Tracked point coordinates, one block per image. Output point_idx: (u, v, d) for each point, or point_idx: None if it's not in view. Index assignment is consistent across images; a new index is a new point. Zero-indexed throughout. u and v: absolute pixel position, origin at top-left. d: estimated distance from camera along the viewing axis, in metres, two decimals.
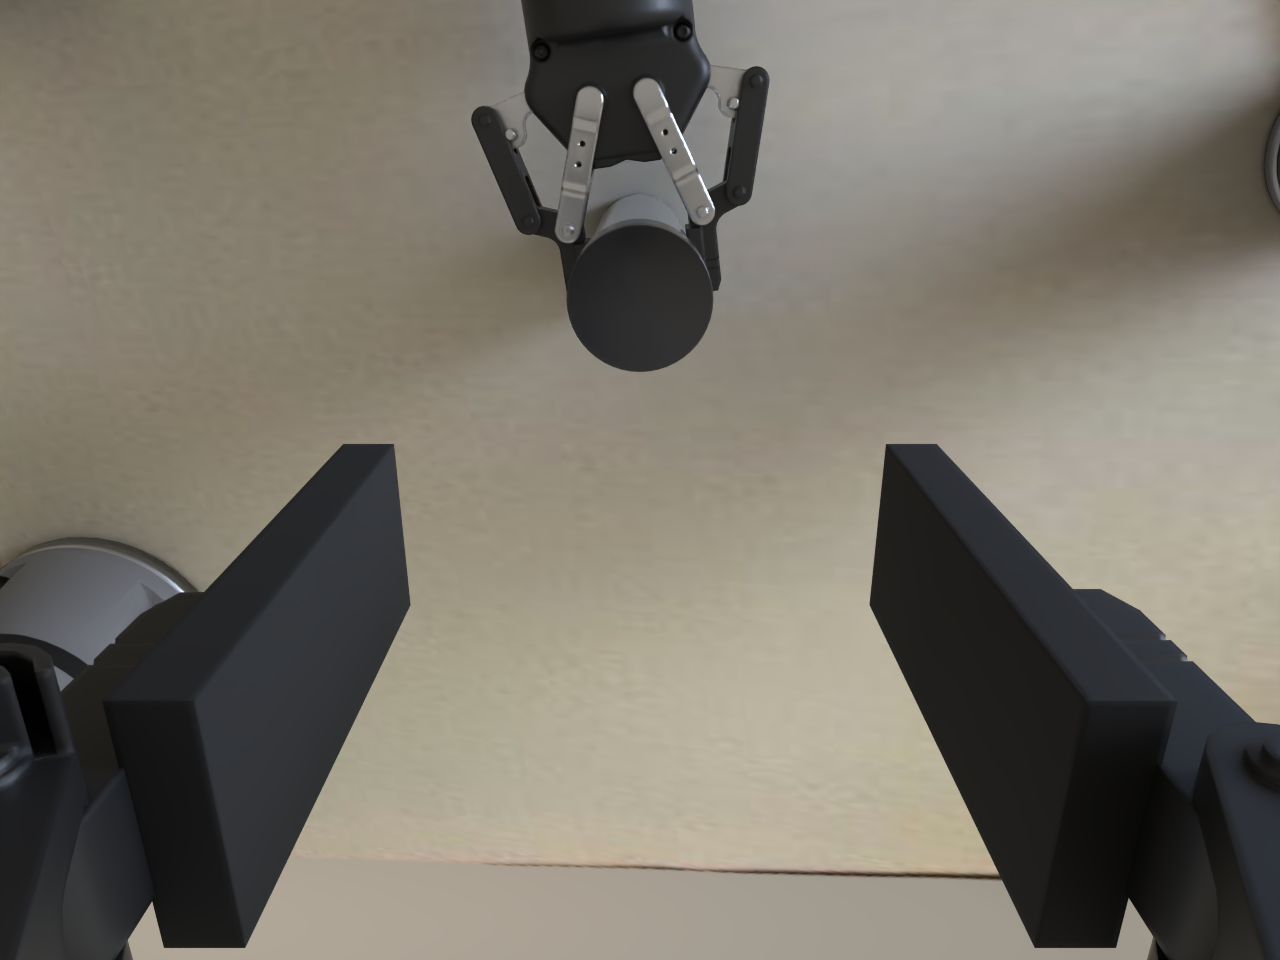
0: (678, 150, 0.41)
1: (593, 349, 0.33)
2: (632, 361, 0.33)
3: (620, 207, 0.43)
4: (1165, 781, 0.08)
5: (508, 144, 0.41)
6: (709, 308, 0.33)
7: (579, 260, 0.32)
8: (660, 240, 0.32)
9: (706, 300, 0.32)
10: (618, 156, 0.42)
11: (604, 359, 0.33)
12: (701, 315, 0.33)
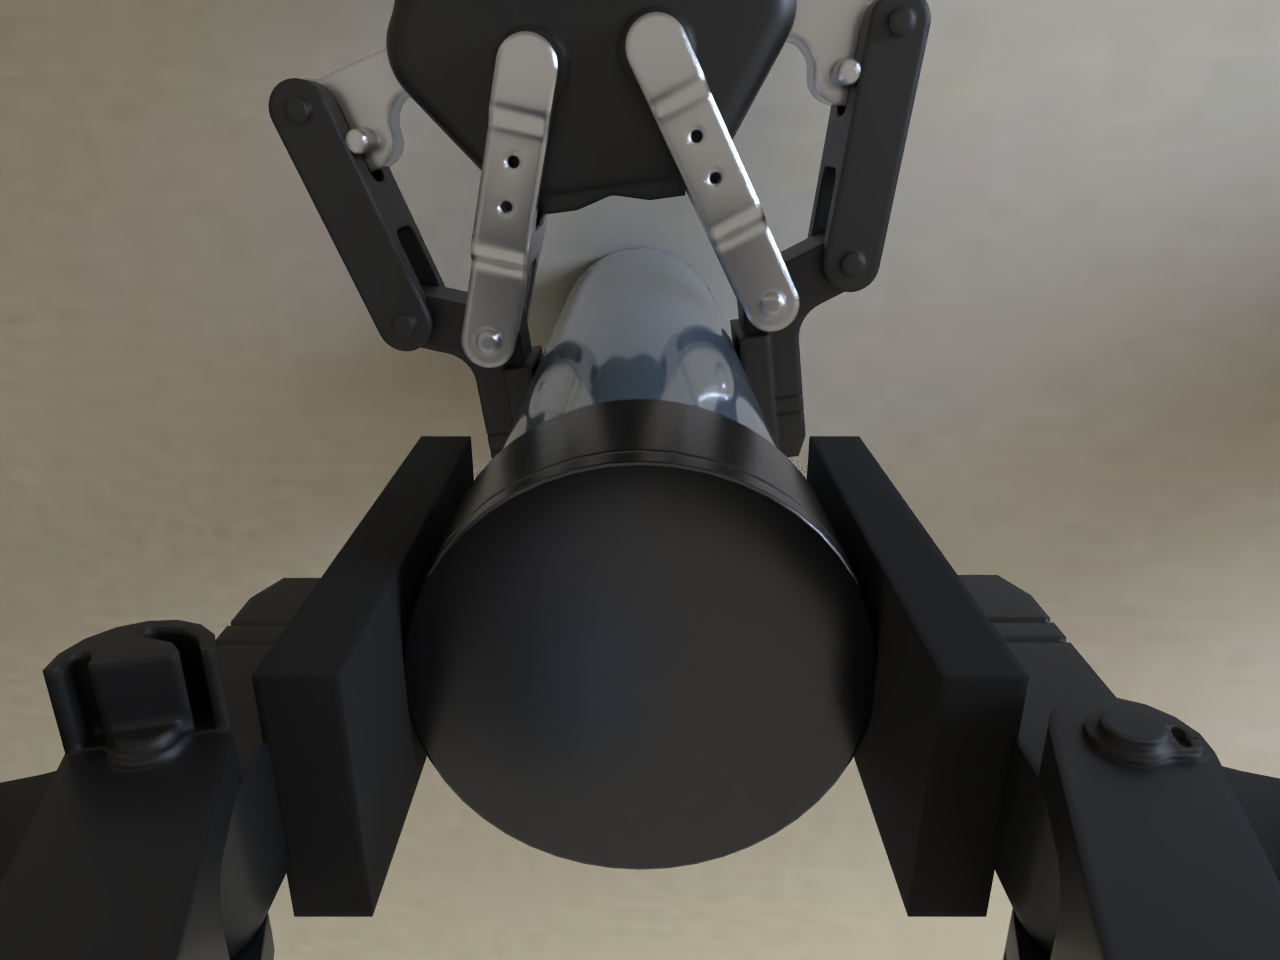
0: (725, 176, 0.19)
1: (496, 814, 0.11)
2: (617, 845, 0.11)
3: (599, 291, 0.21)
4: (1020, 753, 0.08)
5: (354, 163, 0.19)
6: (864, 707, 0.10)
7: (437, 571, 0.09)
8: (711, 511, 0.09)
9: (856, 685, 0.10)
10: (593, 188, 0.19)
11: (530, 840, 0.11)
12: (837, 726, 0.10)
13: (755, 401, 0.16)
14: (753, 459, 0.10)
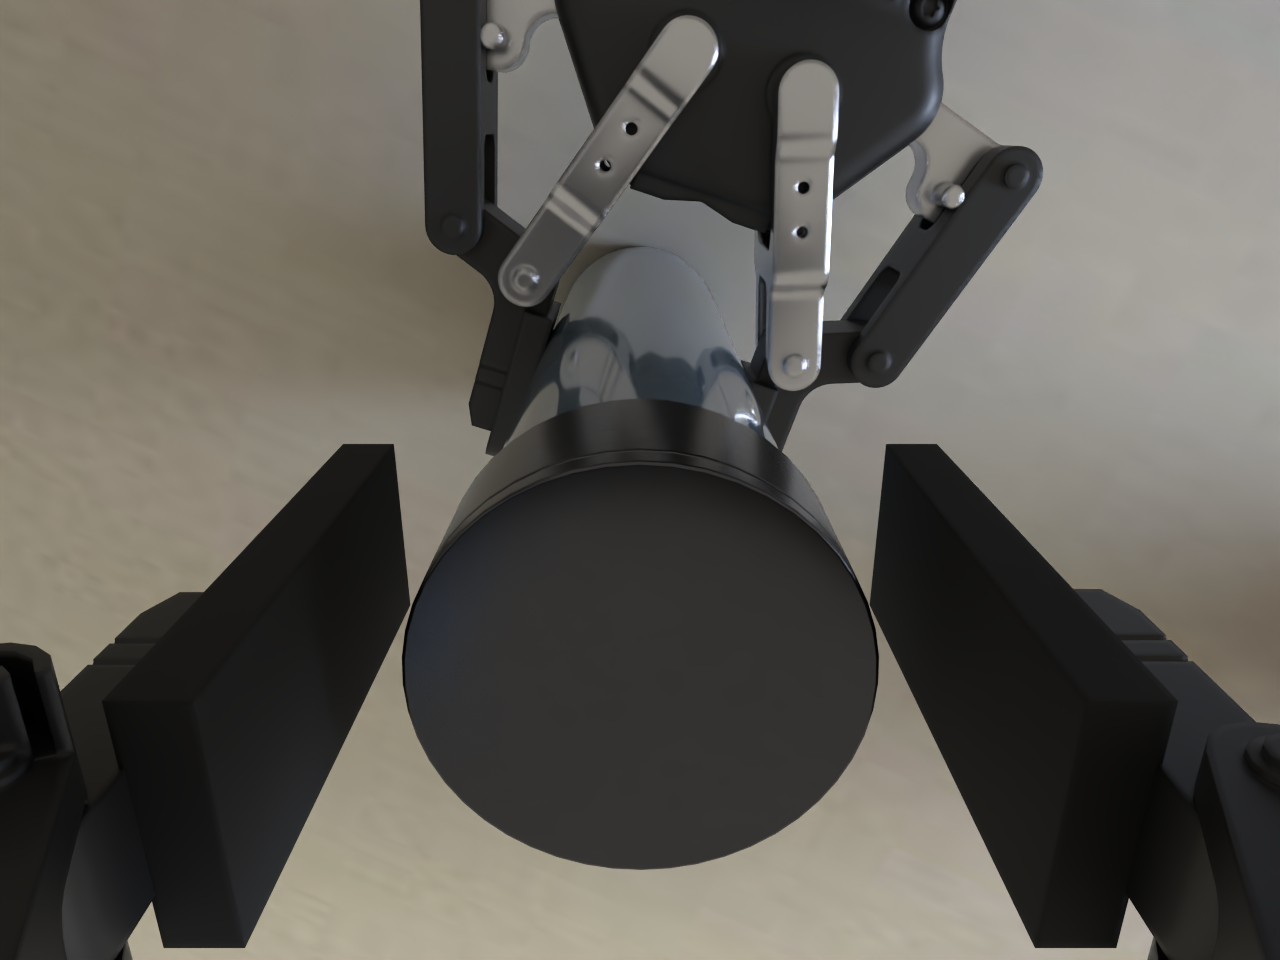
0: (811, 234, 0.19)
1: (725, 845, 0.11)
2: (811, 767, 0.10)
3: (644, 281, 0.21)
4: (1165, 781, 0.08)
5: (479, 54, 0.18)
6: (759, 500, 0.09)
7: (458, 792, 0.10)
8: (481, 567, 0.09)
9: (729, 500, 0.09)
10: (688, 187, 0.20)
11: (767, 832, 0.11)
12: (770, 533, 0.09)
13: None
14: (492, 482, 0.10)
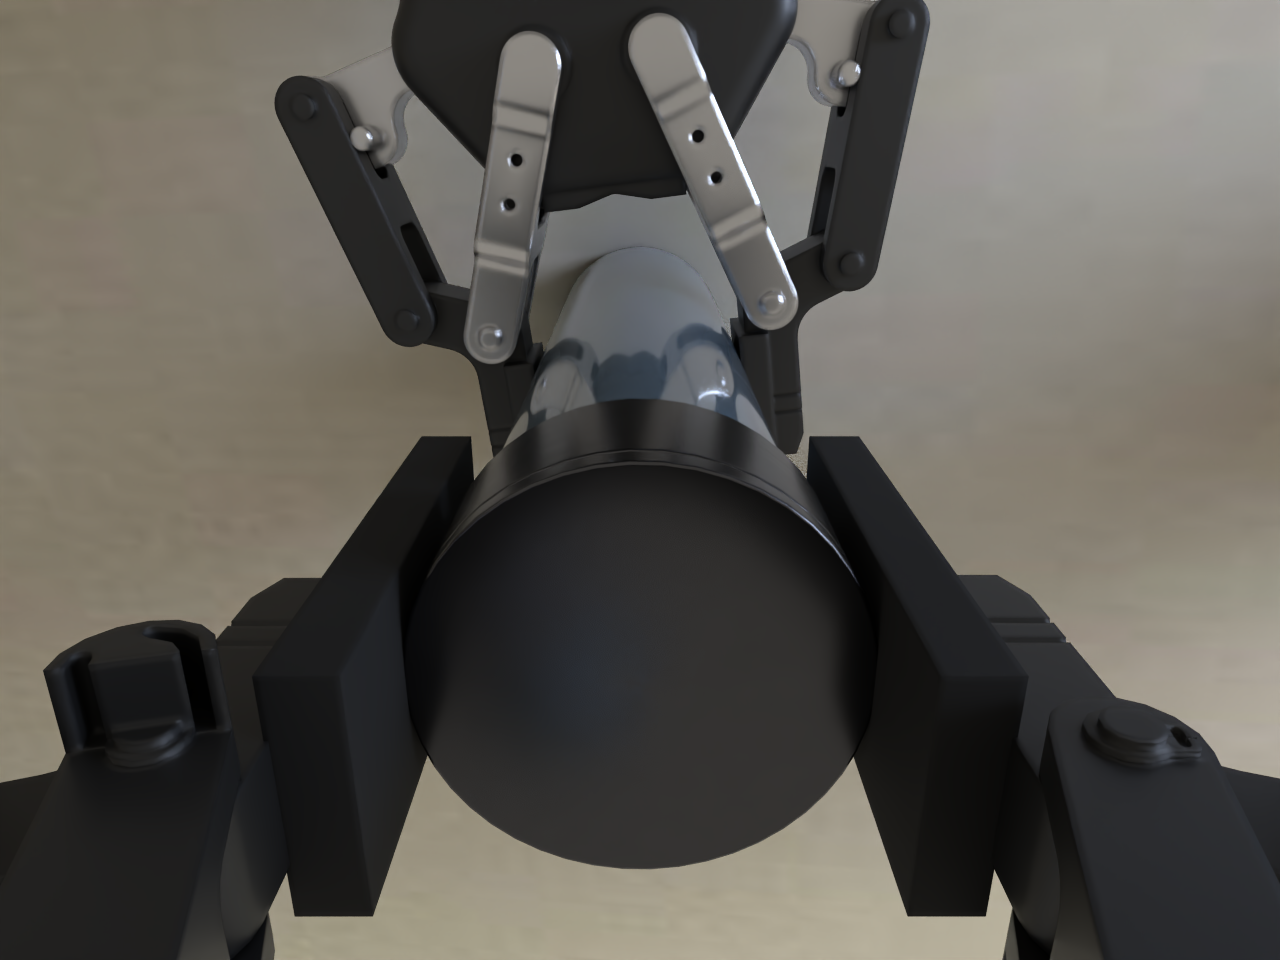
0: (726, 176, 0.19)
1: (800, 802, 0.11)
2: (842, 699, 0.10)
3: (601, 289, 0.21)
4: (1019, 753, 0.08)
5: (358, 160, 0.19)
6: (658, 471, 0.09)
7: (530, 843, 0.11)
8: (444, 636, 0.10)
9: (630, 483, 0.09)
10: (595, 186, 0.20)
11: (832, 775, 0.10)
12: (683, 497, 0.09)
13: (754, 398, 0.16)
14: None
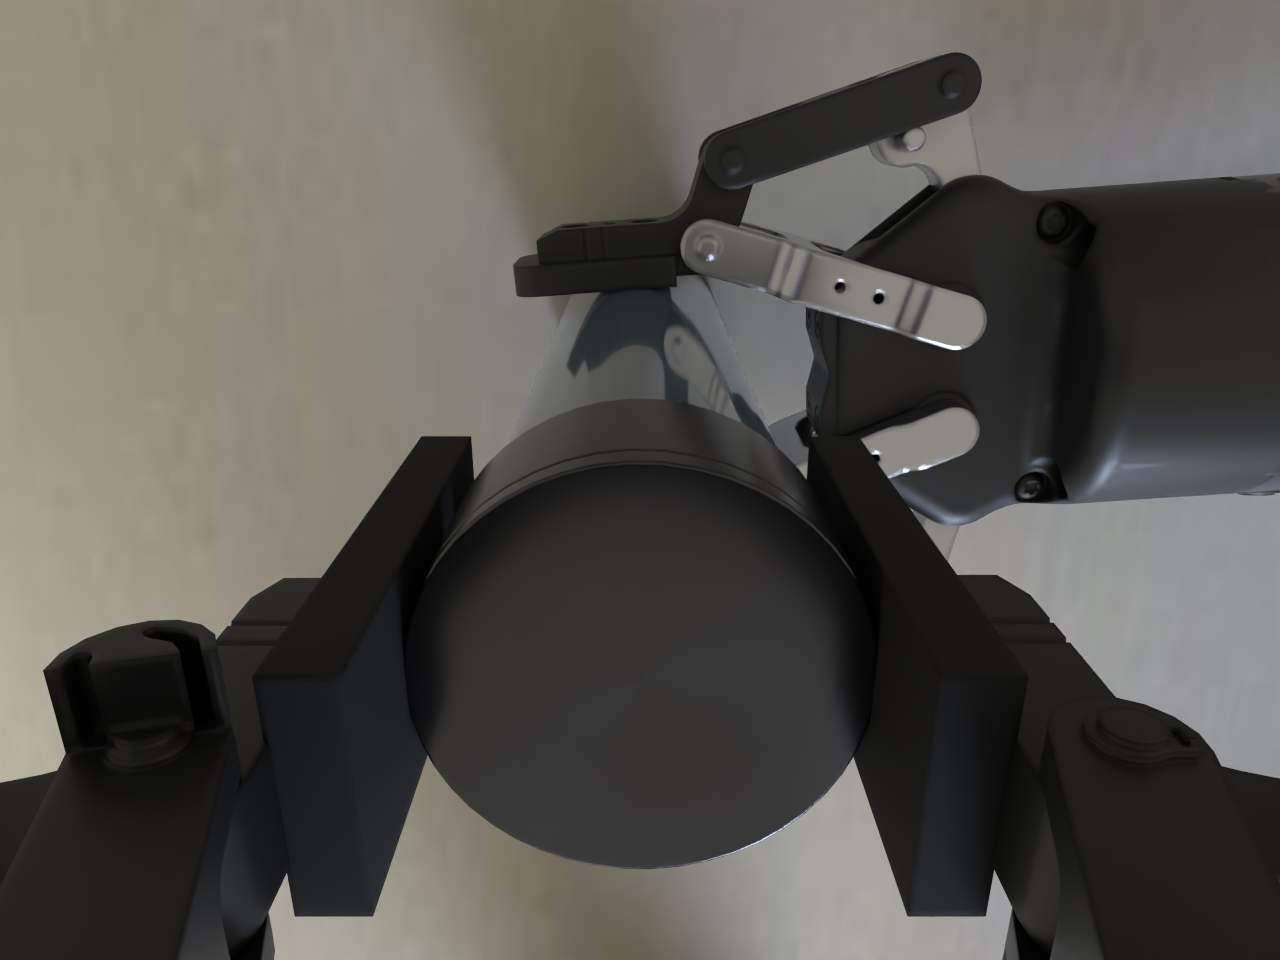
0: None
1: (800, 802, 0.11)
2: (842, 699, 0.10)
3: None
4: (1019, 753, 0.08)
5: (895, 133, 0.19)
6: (658, 471, 0.09)
7: (530, 843, 0.11)
8: (444, 636, 0.10)
9: (630, 483, 0.09)
10: (837, 360, 0.21)
11: (833, 775, 0.10)
12: (683, 497, 0.09)
13: None
14: (437, 553, 0.10)
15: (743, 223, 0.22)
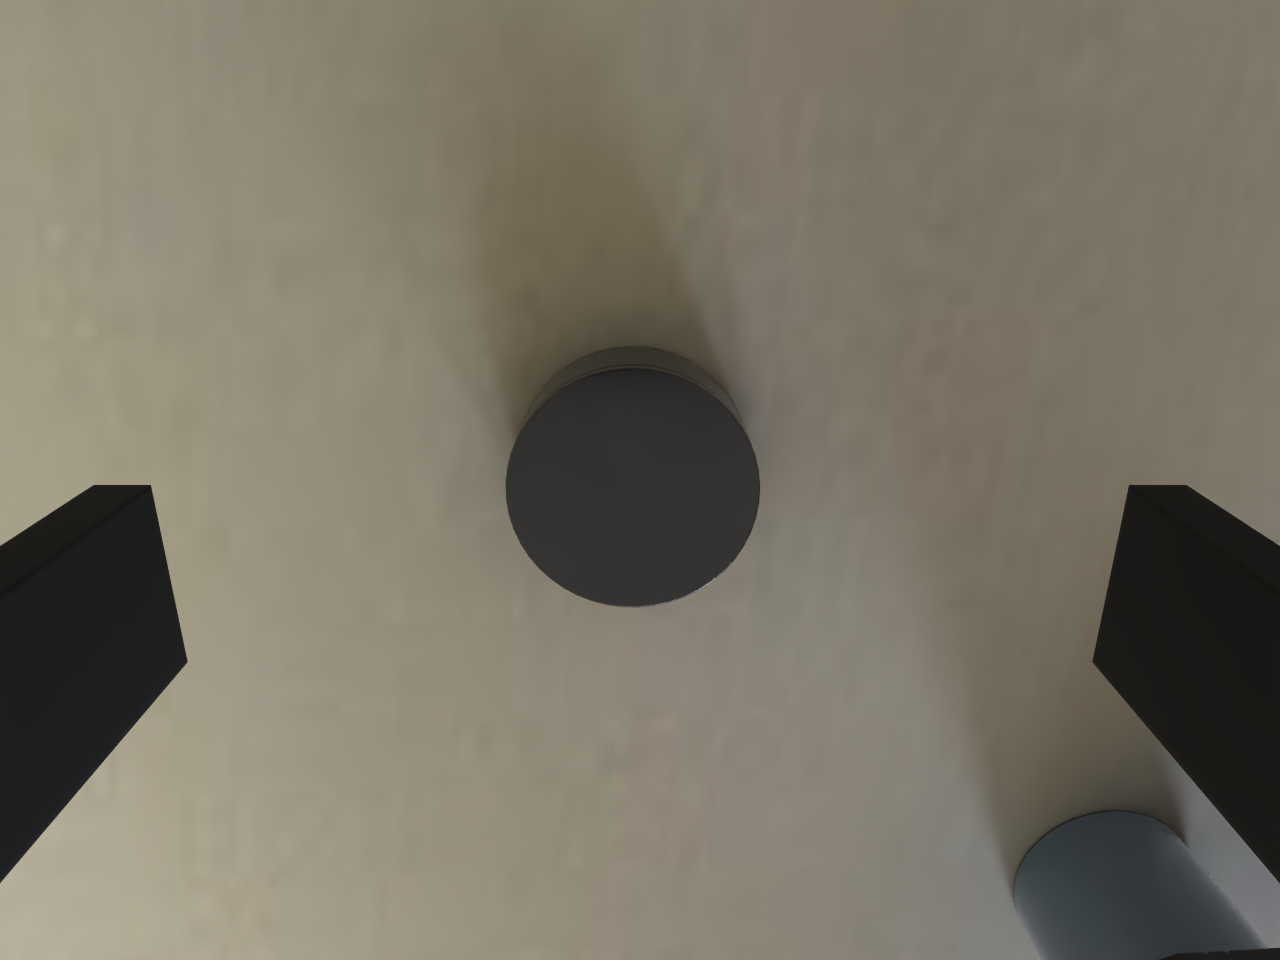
0: None
1: (720, 564, 0.19)
2: (740, 501, 0.19)
3: None
4: None
5: None
6: (640, 374, 0.18)
7: (572, 590, 0.19)
8: (528, 465, 0.18)
9: (626, 380, 0.18)
10: None
11: (738, 547, 0.19)
12: (654, 387, 0.18)
13: None
14: None
15: None
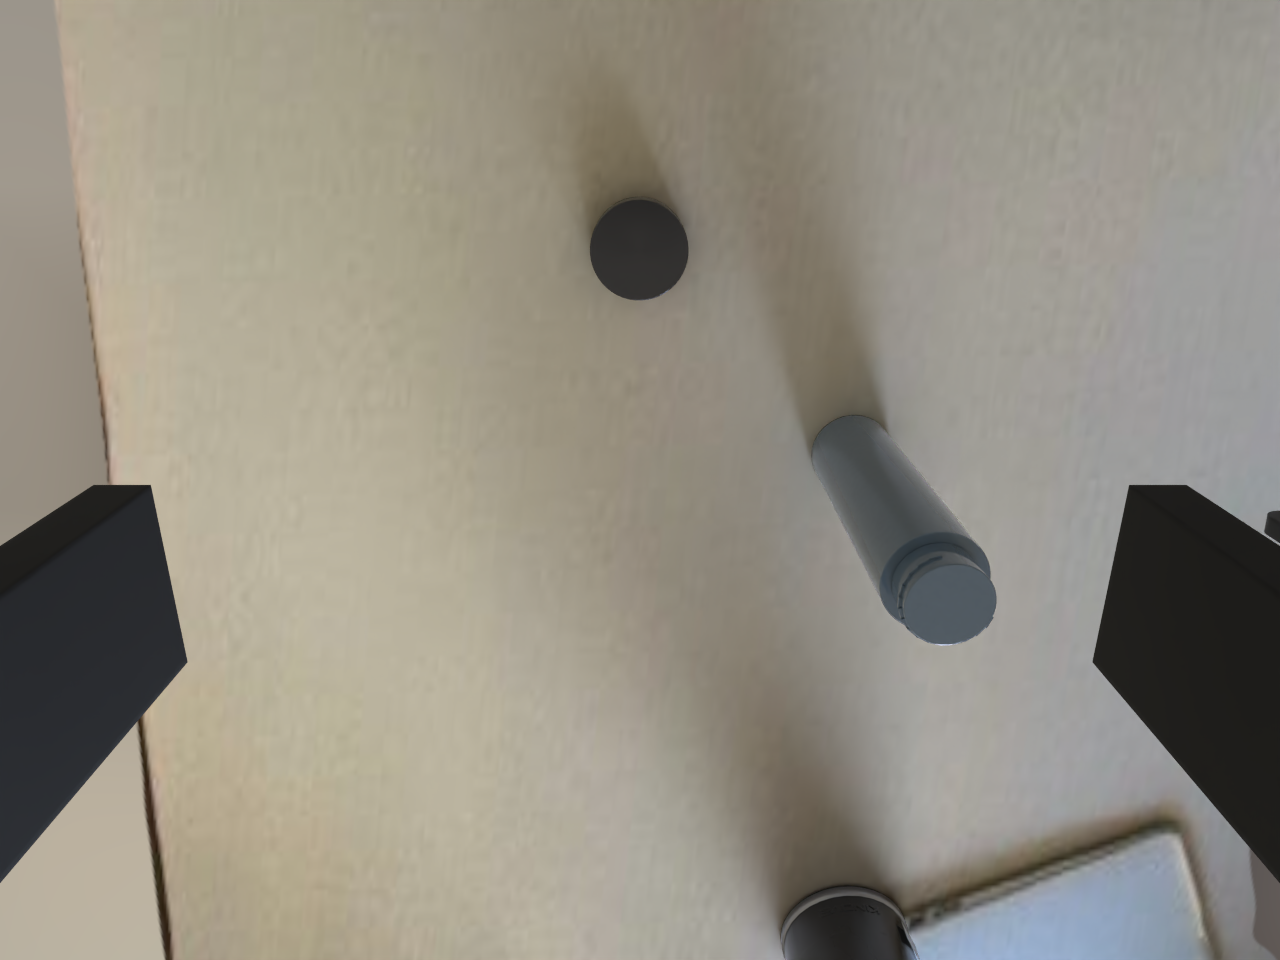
0: None
1: (673, 281, 0.49)
2: (681, 254, 0.48)
3: None
4: None
5: None
6: (642, 202, 0.48)
7: (615, 292, 0.49)
8: (599, 239, 0.48)
9: (637, 204, 0.48)
10: None
11: (680, 273, 0.49)
12: (647, 207, 0.48)
13: None
14: None
15: None
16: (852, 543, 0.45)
